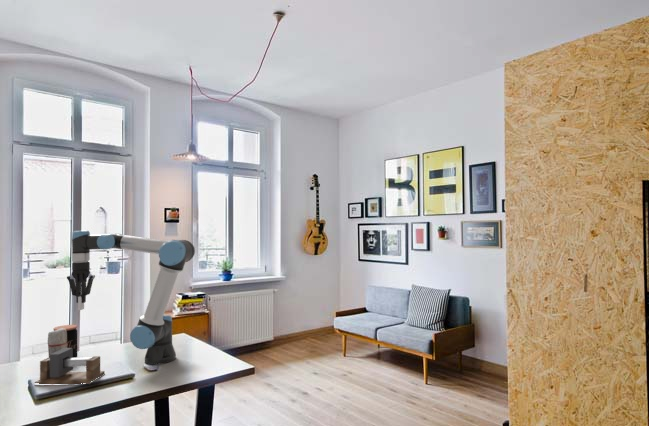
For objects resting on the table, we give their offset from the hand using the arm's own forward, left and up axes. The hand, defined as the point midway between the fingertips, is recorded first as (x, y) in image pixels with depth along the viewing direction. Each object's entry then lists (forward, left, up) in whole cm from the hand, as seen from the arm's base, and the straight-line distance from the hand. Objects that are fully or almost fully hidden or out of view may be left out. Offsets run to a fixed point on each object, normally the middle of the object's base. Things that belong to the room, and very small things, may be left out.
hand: (81, 309), depth 206 cm
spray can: (+11, +1, -29) cm, 31 cm away
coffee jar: (+16, -12, -29) cm, 35 cm away
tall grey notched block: (0, +15, -26) cm, 30 cm away
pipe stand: (-4, +15, -29) cm, 33 cm away
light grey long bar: (-4, +15, -23) cm, 28 cm away
